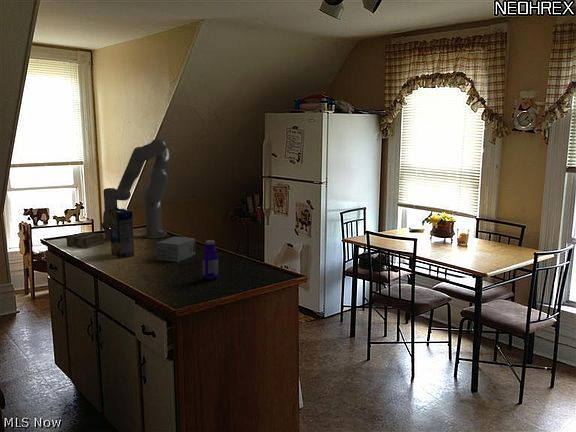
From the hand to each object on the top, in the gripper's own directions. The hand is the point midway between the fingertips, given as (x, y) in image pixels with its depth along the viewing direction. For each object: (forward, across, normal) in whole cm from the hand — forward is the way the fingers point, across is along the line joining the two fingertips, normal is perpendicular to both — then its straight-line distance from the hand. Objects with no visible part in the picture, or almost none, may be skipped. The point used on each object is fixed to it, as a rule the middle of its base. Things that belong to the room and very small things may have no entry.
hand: (112, 238), depth 314 cm
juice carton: (+1, -31, +29) cm, 42 cm away
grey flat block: (+1, +4, +18) cm, 18 cm away
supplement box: (+1, -59, +21) cm, 63 cm away
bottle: (+1, -95, +48) cm, 106 cm away
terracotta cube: (+1, 0, 0) cm, 1 cm away
